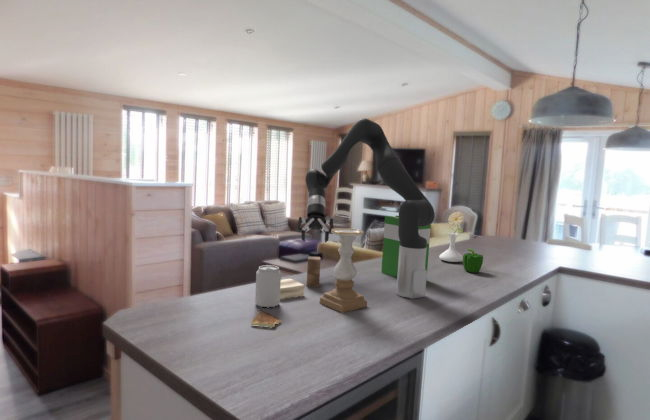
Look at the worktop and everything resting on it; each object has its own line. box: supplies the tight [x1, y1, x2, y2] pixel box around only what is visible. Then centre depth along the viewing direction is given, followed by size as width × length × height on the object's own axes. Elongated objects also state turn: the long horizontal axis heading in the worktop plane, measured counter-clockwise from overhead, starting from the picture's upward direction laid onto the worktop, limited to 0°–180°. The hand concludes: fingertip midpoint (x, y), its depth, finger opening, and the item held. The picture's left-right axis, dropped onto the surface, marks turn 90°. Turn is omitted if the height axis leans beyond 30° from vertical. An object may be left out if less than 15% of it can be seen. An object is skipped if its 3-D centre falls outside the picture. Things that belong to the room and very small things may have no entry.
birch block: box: [280, 278, 305, 300], centre depth 141 cm, size 9×9×4 cm
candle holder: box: [319, 227, 368, 313], centre depth 131 cm, size 11×11×24 cm
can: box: [254, 264, 282, 309], centre depth 128 cm, size 8×8×12 cm
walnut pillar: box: [306, 255, 321, 288], centre depth 153 cm, size 4×4×10 cm
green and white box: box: [380, 215, 432, 281], centre depth 171 cm, size 18×7×24 cm, turn 39°
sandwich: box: [250, 309, 282, 328], centre depth 116 cm, size 11×8×2 cm
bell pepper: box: [462, 248, 484, 274], centre depth 186 cm, size 8×8×10 cm
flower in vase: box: [438, 211, 465, 263], centre depth 204 cm, size 13×11×25 cm
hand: (314, 240), depth 163 cm, fingers open, 8 cm apart
